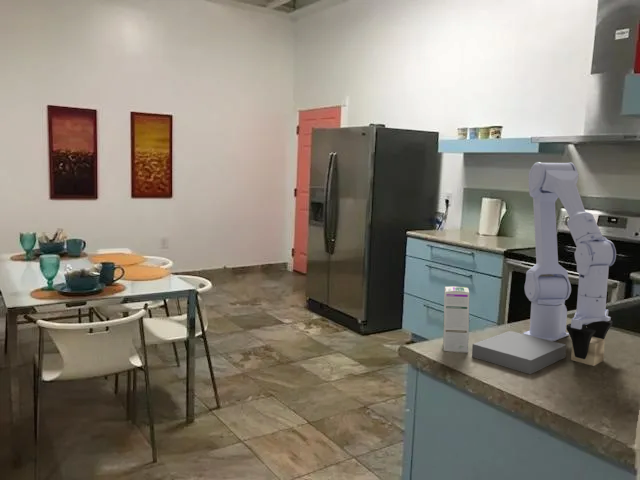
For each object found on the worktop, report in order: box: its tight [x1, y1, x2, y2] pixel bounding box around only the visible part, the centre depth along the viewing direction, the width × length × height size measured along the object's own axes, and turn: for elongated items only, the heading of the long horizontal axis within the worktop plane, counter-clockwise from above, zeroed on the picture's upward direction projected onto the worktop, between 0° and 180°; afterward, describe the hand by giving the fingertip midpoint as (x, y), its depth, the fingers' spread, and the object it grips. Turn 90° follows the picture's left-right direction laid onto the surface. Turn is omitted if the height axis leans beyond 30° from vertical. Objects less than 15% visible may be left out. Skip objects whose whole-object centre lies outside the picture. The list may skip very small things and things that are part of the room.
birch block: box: [570, 337, 606, 367], centre depth 124 cm, size 5×5×5 cm
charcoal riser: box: [471, 330, 567, 375], centre depth 125 cm, size 16×14×3 cm
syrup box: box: [442, 285, 471, 354], centre depth 130 cm, size 6×6×14 cm
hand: (587, 354), depth 124 cm, fingers open, 7 cm apart
